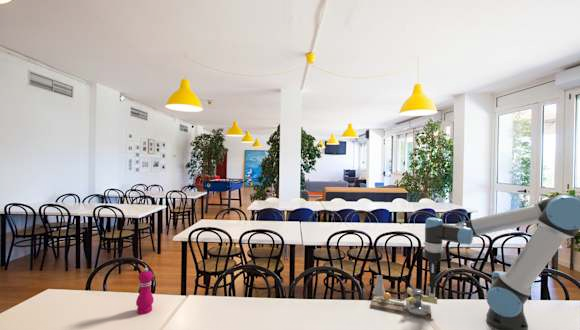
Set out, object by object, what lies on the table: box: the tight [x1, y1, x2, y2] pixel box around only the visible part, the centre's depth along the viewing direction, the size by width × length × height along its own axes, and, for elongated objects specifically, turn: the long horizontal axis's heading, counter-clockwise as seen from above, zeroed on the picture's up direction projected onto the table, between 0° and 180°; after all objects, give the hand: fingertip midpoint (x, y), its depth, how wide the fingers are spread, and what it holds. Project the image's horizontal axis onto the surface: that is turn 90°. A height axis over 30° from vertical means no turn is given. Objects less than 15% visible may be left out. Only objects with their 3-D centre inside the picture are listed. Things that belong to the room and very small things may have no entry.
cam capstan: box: [406, 287, 438, 316], centre depth 142 cm, size 16×14×8 cm
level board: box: [370, 294, 432, 321], centre depth 146 cm, size 27×12×2 cm, turn 67°
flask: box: [371, 274, 386, 297], centre depth 161 cm, size 7×7×10 cm
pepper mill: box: [135, 267, 154, 315], centre depth 137 cm, size 7×7×20 cm
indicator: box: [383, 291, 407, 309], centre depth 147 cm, size 11×8×5 cm
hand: (431, 299), depth 142 cm, fingers closed
